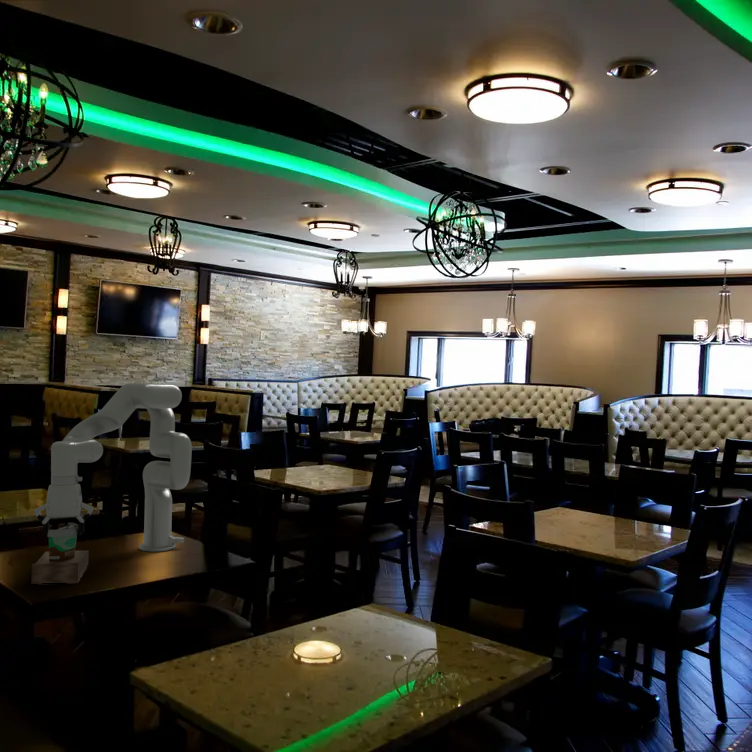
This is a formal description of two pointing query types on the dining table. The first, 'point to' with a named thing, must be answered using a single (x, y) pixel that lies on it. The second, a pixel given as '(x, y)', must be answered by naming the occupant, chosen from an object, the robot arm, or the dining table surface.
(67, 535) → the food container
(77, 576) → the brown rectangular block
